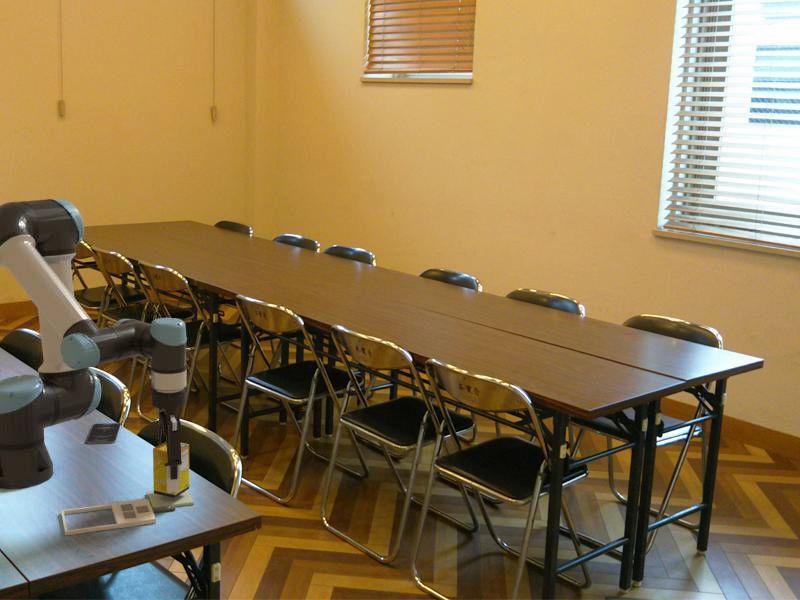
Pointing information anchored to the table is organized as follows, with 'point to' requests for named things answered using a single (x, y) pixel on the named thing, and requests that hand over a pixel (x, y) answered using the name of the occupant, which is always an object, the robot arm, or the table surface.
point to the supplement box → (161, 470)
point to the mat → (169, 500)
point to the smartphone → (103, 433)
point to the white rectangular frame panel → (119, 515)
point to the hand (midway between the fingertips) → (169, 483)
